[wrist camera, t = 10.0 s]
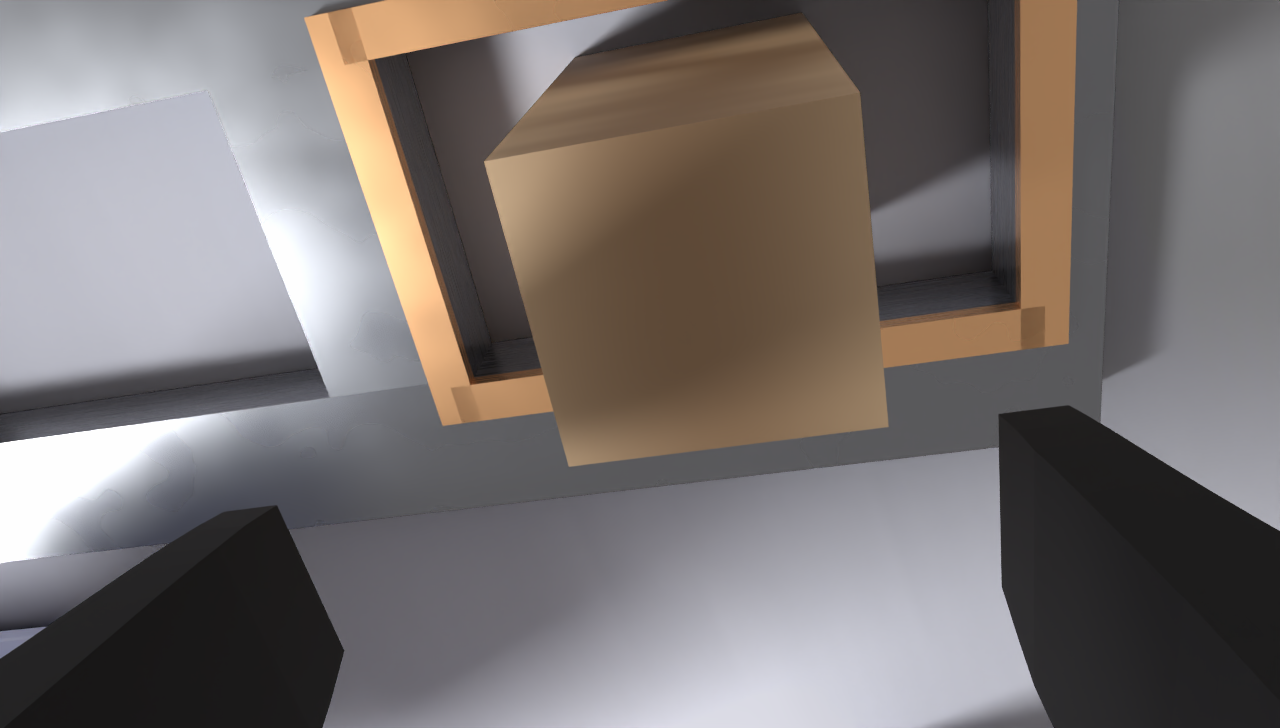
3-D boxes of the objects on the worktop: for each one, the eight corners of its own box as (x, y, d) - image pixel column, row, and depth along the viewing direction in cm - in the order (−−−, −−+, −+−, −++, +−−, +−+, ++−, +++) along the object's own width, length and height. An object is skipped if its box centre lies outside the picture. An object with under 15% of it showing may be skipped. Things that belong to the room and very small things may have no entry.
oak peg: (620, 265, 18) (568, 466, 11) (575, 57, 16) (483, 161, 10) (825, 233, 17) (889, 426, 11) (801, 12, 15) (860, 92, 9)
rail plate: (-37, 531, 22) (-95, 581, 21) (-372, 24, 17) (-485, 38, 15) (1071, 396, 18) (1105, 444, 17) (1090, -326, 13) (1144, -357, 11)
